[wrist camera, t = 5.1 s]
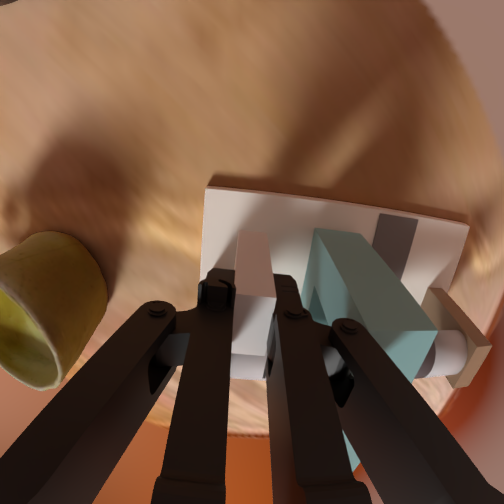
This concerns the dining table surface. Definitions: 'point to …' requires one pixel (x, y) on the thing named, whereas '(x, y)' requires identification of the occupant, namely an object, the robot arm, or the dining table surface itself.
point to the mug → (48, 307)
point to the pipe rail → (383, 242)
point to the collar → (365, 300)
